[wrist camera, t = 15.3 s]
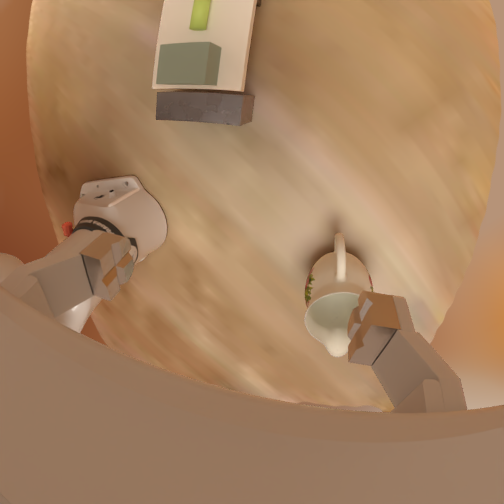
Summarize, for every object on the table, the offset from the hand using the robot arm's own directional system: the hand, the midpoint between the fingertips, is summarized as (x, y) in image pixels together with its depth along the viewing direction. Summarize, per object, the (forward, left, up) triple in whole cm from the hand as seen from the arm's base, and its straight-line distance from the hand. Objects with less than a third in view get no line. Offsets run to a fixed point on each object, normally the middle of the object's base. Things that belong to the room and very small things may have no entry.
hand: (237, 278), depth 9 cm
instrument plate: (-13, +15, -27) cm, 34 cm away
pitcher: (+11, -20, -34) cm, 41 cm away
